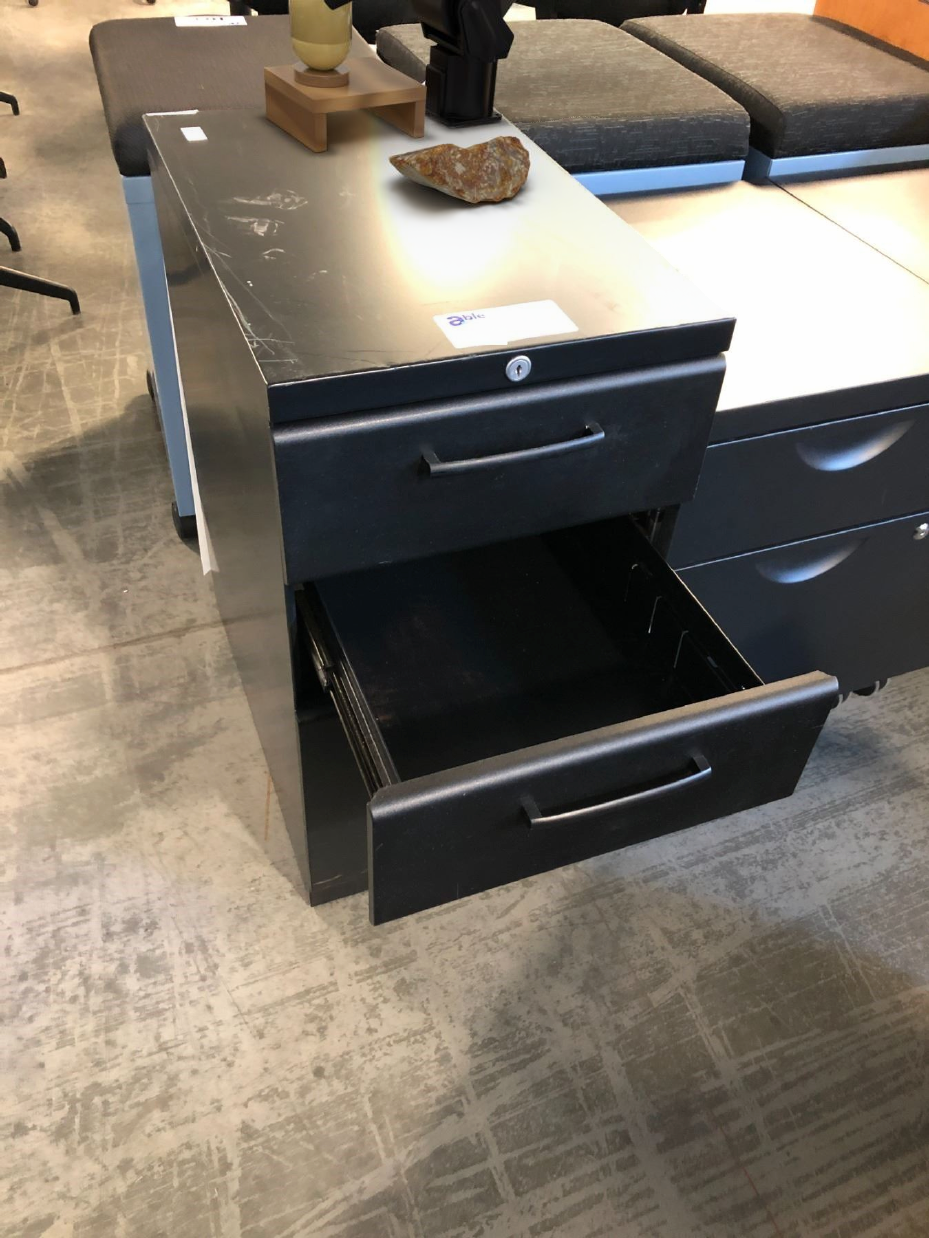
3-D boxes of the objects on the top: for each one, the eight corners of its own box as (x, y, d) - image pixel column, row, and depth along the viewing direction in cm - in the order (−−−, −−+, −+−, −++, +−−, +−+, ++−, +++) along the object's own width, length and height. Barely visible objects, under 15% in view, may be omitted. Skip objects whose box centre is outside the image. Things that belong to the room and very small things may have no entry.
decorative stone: (364, 126, 81) (479, 116, 90) (359, 181, 83) (472, 166, 93) (448, 159, 76) (559, 145, 86) (440, 216, 79) (549, 196, 89)
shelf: (371, 105, 100) (372, 56, 97) (424, 136, 95) (426, 86, 92) (266, 118, 95) (263, 67, 92) (315, 152, 89) (314, 100, 86)
